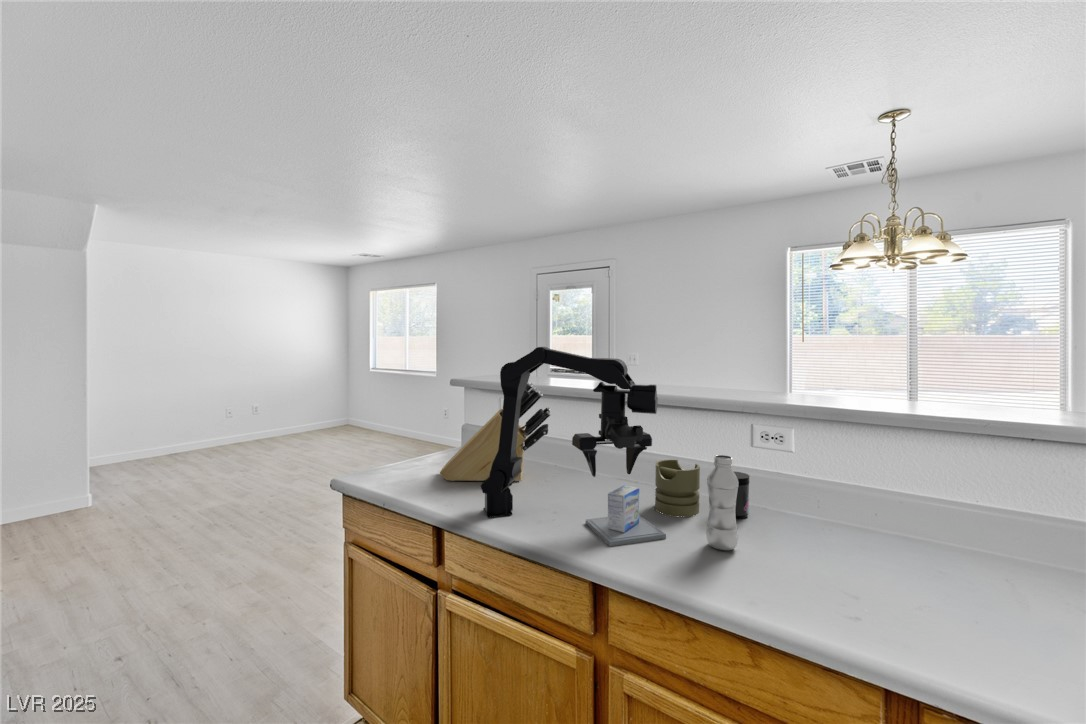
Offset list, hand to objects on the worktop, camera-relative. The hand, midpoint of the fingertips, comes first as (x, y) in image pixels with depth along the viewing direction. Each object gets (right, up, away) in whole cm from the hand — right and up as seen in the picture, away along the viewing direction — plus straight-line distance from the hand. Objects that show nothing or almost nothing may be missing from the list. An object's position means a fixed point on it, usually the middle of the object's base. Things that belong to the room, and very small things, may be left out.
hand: (611, 475), depth 121 cm
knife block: (-32, -11, +42) cm, 54 cm away
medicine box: (+3, -12, -2) cm, 12 cm away
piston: (+19, -12, +12) cm, 26 cm away
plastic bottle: (+22, -13, -12) cm, 29 cm away
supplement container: (+33, -12, +8) cm, 36 cm away
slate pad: (+3, -13, -2) cm, 13 cm away
